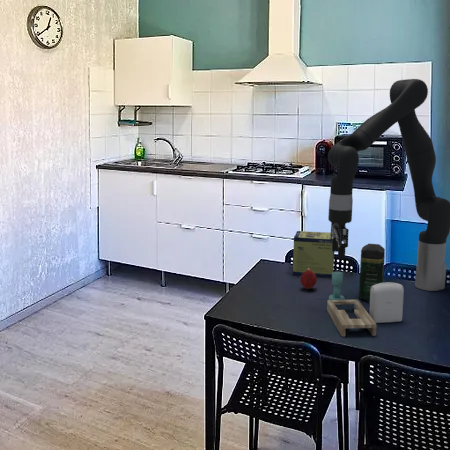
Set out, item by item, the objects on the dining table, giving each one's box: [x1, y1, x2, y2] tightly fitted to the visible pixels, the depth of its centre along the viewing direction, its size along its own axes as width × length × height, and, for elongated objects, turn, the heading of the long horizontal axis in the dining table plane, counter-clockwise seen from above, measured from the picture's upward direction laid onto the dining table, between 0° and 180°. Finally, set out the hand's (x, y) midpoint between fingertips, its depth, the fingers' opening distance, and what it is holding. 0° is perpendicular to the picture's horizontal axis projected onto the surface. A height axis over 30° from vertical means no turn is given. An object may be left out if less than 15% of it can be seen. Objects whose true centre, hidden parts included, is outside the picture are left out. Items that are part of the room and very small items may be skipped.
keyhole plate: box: [326, 299, 378, 337], centre depth 169 cm, size 10×20×4 cm, turn 2°
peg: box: [328, 270, 345, 300], centre depth 186 cm, size 5×5×10 cm
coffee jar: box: [358, 243, 386, 302], centre depth 188 cm, size 10×8×19 cm
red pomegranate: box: [299, 268, 318, 290], centre depth 197 cm, size 6×6×8 cm
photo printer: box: [368, 281, 405, 324], centre depth 169 cm, size 10×4×12 cm, turn 96°
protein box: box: [292, 230, 335, 279], centre depth 215 cm, size 10×16×16 cm
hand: (338, 254), depth 183 cm, fingers open, 8 cm apart
